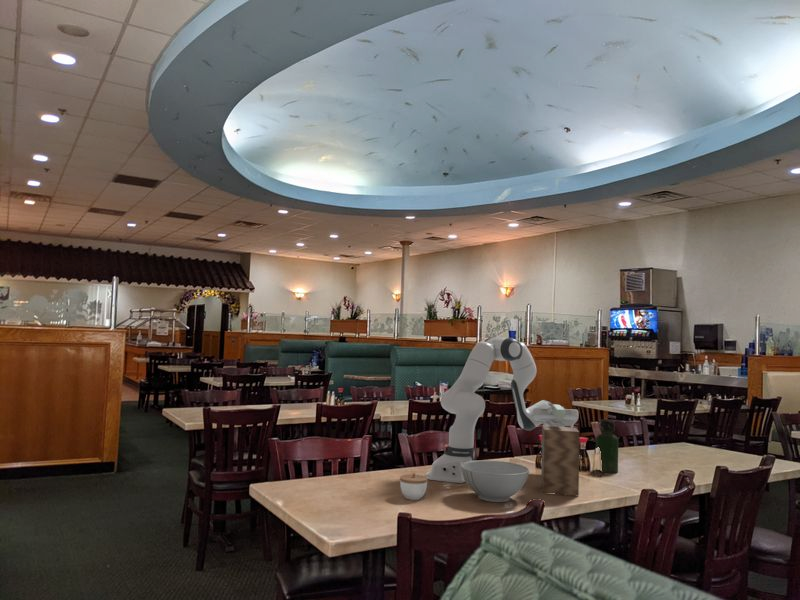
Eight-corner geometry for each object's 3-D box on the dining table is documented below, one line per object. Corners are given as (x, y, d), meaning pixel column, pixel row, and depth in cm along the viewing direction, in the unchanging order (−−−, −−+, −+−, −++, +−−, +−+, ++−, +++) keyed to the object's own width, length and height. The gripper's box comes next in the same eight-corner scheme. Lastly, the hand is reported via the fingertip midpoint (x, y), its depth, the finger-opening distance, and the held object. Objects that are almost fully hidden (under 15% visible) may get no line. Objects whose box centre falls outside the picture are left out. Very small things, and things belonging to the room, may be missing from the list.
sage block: (557, 419, 257) (557, 409, 257) (552, 413, 277) (552, 404, 278) (564, 419, 256) (564, 409, 257) (559, 413, 277) (559, 404, 277)
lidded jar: (399, 493, 242) (400, 469, 243) (426, 495, 242) (427, 470, 242) (398, 500, 231) (399, 475, 232) (427, 502, 231) (427, 476, 232)
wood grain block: (543, 493, 250) (544, 429, 252) (541, 486, 262) (542, 425, 264) (578, 496, 248) (579, 431, 250) (574, 489, 260) (575, 427, 262)
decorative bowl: (449, 500, 235) (450, 468, 236) (474, 486, 259) (475, 457, 260) (516, 511, 223) (517, 477, 223) (536, 496, 246) (537, 465, 247)
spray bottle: (609, 468, 308) (610, 418, 309) (622, 473, 298) (622, 421, 299) (591, 468, 305) (592, 418, 306) (603, 473, 295) (604, 421, 296)
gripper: (531, 412, 288) (533, 400, 277) (576, 414, 285) (579, 402, 274) (531, 425, 285) (533, 413, 274) (576, 427, 282) (580, 415, 270)
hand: (556, 407), depth 274 cm, fingers closed on sage block, 3 cm apart
